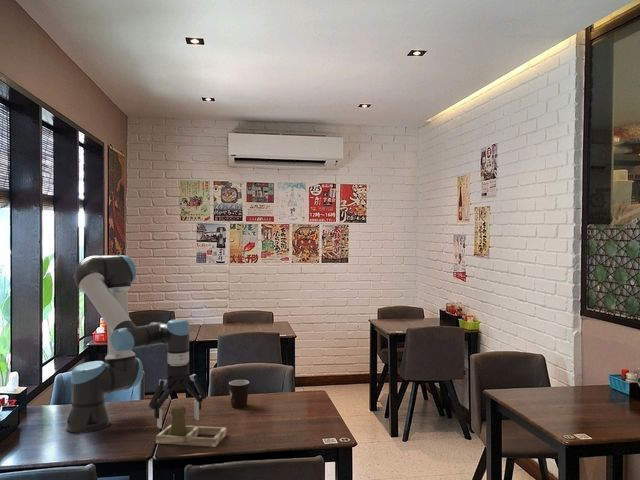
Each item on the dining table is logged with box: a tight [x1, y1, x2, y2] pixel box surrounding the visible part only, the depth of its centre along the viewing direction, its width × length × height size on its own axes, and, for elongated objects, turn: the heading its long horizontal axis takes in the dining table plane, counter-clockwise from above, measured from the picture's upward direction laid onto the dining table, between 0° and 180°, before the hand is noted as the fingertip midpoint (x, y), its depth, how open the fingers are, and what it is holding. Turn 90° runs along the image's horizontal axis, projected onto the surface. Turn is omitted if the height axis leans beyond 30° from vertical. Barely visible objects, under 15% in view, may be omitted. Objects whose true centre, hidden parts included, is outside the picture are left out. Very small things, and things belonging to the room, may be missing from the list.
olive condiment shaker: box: [170, 404, 187, 436], centre depth 184 cm, size 6×6×11 cm
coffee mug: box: [228, 379, 250, 410], centre depth 221 cm, size 12×9×10 cm
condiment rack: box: [155, 423, 227, 448], centre depth 183 cm, size 11×22×2 cm, turn 81°
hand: (178, 423), depth 184 cm, fingers open, 13 cm apart
